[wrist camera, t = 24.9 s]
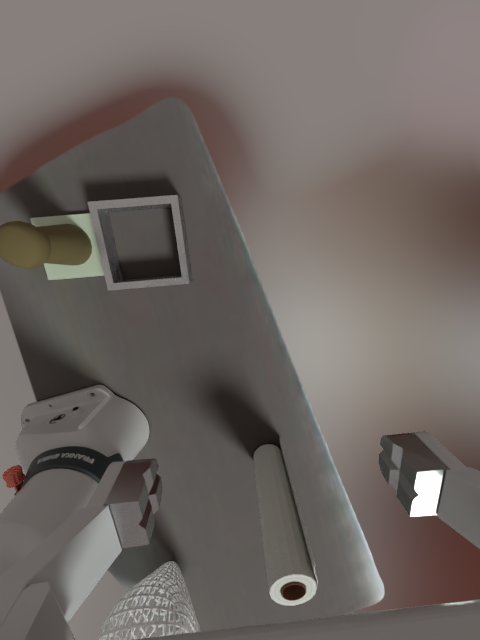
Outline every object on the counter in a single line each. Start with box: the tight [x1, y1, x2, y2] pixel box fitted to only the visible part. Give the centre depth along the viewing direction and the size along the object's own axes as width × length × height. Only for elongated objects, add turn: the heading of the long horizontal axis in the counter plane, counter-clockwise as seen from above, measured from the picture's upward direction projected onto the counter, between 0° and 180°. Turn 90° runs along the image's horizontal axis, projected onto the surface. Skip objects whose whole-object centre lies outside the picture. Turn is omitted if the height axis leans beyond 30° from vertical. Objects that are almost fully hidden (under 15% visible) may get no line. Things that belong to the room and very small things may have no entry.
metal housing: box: [88, 195, 193, 290], centre depth 37 cm, size 12×12×4 cm
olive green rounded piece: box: [0, 221, 92, 269], centre depth 33 cm, size 6×6×11 cm
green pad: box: [30, 213, 104, 280], centre depth 38 cm, size 9×9×1 cm
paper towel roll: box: [253, 437, 318, 606], centre depth 42 cm, size 7×6×21 cm
